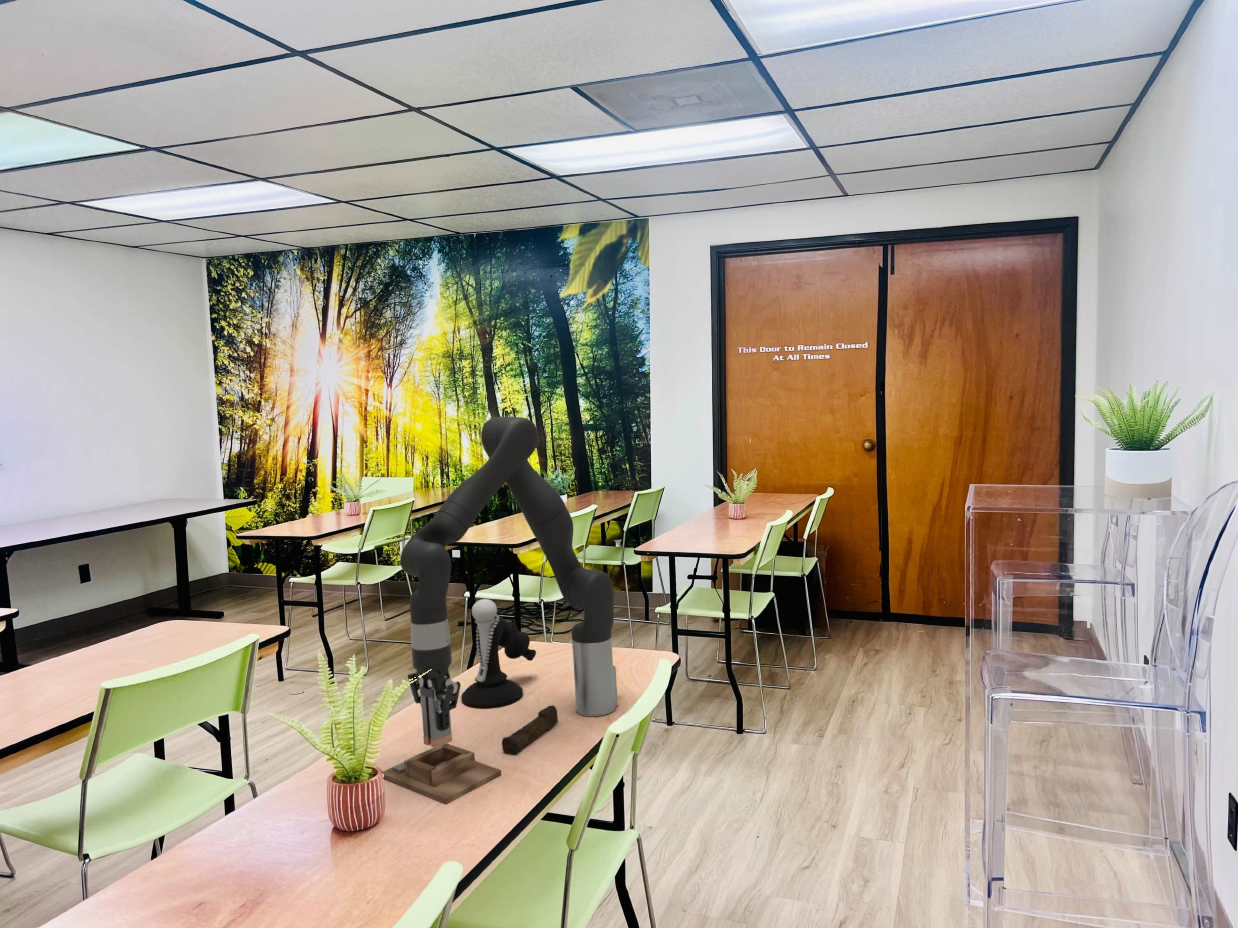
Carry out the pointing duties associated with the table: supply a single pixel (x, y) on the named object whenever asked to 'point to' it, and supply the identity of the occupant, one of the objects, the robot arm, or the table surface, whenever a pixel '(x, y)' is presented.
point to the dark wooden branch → (530, 730)
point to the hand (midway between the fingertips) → (436, 726)
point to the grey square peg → (433, 720)
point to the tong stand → (442, 773)
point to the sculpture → (495, 659)
